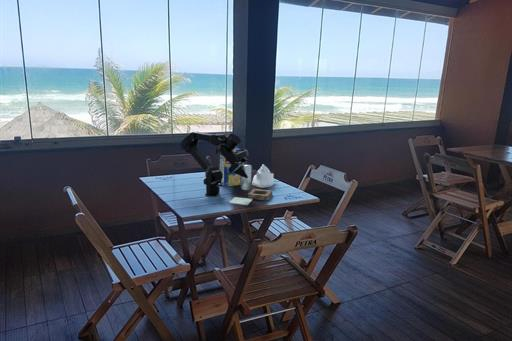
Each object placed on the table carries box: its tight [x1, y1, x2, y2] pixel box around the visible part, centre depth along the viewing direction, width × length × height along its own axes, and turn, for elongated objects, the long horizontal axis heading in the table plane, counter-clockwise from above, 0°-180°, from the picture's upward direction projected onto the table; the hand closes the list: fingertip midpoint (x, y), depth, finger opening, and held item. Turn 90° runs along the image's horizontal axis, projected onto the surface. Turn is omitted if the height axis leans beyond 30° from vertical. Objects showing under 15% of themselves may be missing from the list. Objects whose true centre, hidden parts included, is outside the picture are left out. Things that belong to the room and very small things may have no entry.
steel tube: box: [240, 163, 252, 191], centre depth 196 cm, size 5×5×12 cm
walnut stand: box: [247, 188, 273, 201], centre depth 205 cm, size 11×11×2 cm
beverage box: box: [219, 147, 242, 187], centre depth 227 cm, size 7×11×22 cm, turn 118°
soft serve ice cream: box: [251, 164, 274, 189], centre depth 228 cm, size 12×15×14 cm
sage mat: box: [228, 196, 254, 206], centre depth 196 cm, size 10×10×1 cm
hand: (248, 176), depth 196 cm, fingers closed on steel tube, 5 cm apart
